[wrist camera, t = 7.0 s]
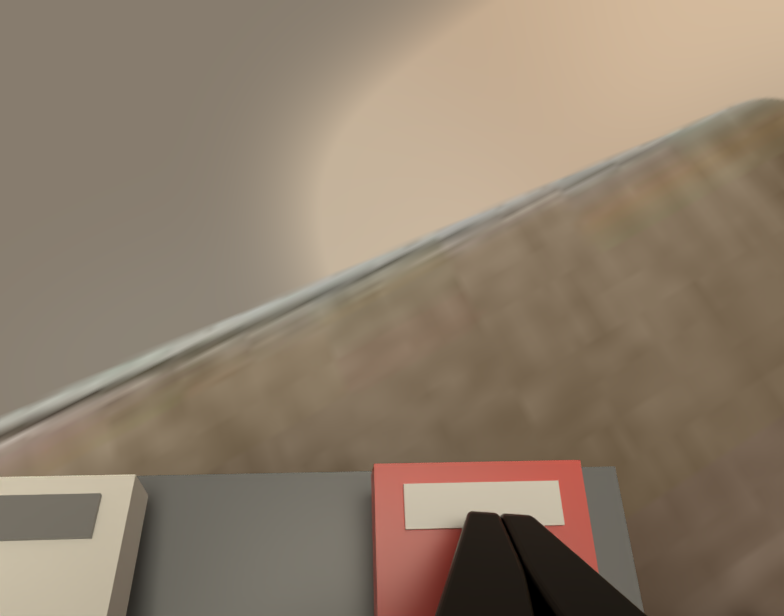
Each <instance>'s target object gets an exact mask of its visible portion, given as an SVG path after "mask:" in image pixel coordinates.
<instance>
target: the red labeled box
mask: <svg viewBox="0 0 784 616" xmlns="http://www.w3.org/2000/svg"><path fill="white" fill-rule="evenodd" d="M371 492H372V539H373V586H374V616H435V614H436V610H437V607H438V604H439V601H440V598H441V595H442V591H443V588H444V585H445V582H446V579H447V576H448V572H449V569H450V566H451V563H452V560H453V557H454V553H455V550H456V547H457V544H458V541H459V538H460V534H461V531H462V528H463V525H464V522H465V519H466V516H467V514H468V512H470V511H478V512H492V513H497V514H498V515H499V516H501V515H502V514H504V513H507V514H524V515H530V516H532V517H534V518H535V519H536V520H538V521H539V522H540V523H541V524H542V525H543V526H545V527H546V528H547V529H548V530H549V531H550V532H551V533H553V534H554V535H555V536H556V537H557V538H558V539H559V540H561V541H562V542H563V543H564V544H565V545H566V546H568V547H569V548H570V549H571V550H572V551H573V552H574V553H576V554H577V555H578V556H579V557H580V558H581V559H582V560H584V561H585V562H586V563H587V564H588V565H589V566H591V567H592V568H593V569H594V570H595V571H596V572H597V573H599V571H598V565H597V559H596V553H595V547H594V541H593V535H592V529H591V523H590V517H589V511H588V505H587V498H586V492H585V486H584V480H583V474H582V468H581V462H580V460H553V461H499V462H445V463H390V464H374V466H373V470H372V474H371Z"/></svg>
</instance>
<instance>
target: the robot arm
mask: <svg viewBox="0 0 784 616" xmlns="http://www.w3.org/2000/svg"><path fill="white" fill-rule="evenodd" d="M435 616H647V615H646V614H645V613H643V612H642V611H641V610H640V609H639V608H638V607H637V606H635V605H634V604H633V603H632V602H631V601H630V600H628V599H627V598H626V597H625V596H624V595H623V594H622V593H620V592H619V591H618V590H617V589H616V588H615V587H614V586H612V585H611V584H610V583H609V582H608V581H607V580H605V579H604V578H603V577H602V576H601V575H600V574H599V573H597V572H596V571H595V570H594V569H593V568H592V567H591V566H589V565H588V564H587V563H586V562H585V561H584V560H582V559H581V558H580V557H579V556H578V555H577V554H576V553H574V552H573V551H572V550H571V549H570V548H569V547H568V546H566V545H565V544H564V543H563V542H562V541H561V540H559V539H558V538H557V537H556V536H555V535H554V534H553V533H551V532H550V531H549V530H548V529H547V528H546V527H545V526H543V525H542V524H541V523H540V522H539V521H538V520H536V519H535V518H534V517H532V516H530V515H524V514H507V513H504V514H502V515H501V516H499V515H498V514H497V513H492V512H478V511H470V512H468V514H467V516H466V519H465V522H464V525H463V528H462V531H461V534H460V538H459V541H458V544H457V547H456V550H455V553H454V557H453V560H452V563H451V566H450V569H449V572H448V576H447V579H446V582H445V585H444V588H443V591H442V595H441V598H440V601H439V604H438V607H437V610H436V614H435Z"/></svg>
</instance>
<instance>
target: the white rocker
mask: <svg viewBox="0 0 784 616" xmlns="http://www.w3.org/2000/svg"><path fill="white" fill-rule="evenodd" d="M147 500H148V494H147V492H146V491H145V489H144V487H143V486H142V484H141V483H140V481H139V479H138V478H137V476H136V474H132V475H80V476H28V477H0V616H126V613H127V607H128V602H129V597H130V591H131V586H132V580H133V575H134V570H135V564H136V559H137V554H138V548H139V543H140V538H141V532H142V527H143V521H144V516H145V511H146V505H147Z"/></svg>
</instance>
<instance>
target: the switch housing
mask: <svg viewBox="0 0 784 616" xmlns="http://www.w3.org/2000/svg"><path fill="white" fill-rule="evenodd" d="M581 468H582V474H583V480H584V486H585V492H586V498H587V505H588V511H589V517H590V523H591V529H592V535H593V541H594V547H595V553H596V559H597V565H598V571H599V574H600V575H601V576H602V577H603V578H604V579H605V580H607V581H608V582H609V583H610V584H611V585H612V586H614V587H615V588H616V589H617V590H618V591H619V592H620V593H622V594H623V595H624V596H625V597H626V598H627V599H628V600H630V601H631V602H632V603H633V604H634V605H635V606H637V607H638V608H639V609H640V610H641V611H642V612H643V613H644V610H643V605H642V600H641V595H640V590H639V585H638V580H637V575H636V570H635V565H634V560H633V555H632V550H631V545H630V540H629V535H628V530H627V525H626V520H625V515H624V510H623V505H622V499H621V494H620V489H619V484H618V479H617V474H616V469H615V467H581ZM371 474H372V471H361V472H310V473H259V474H207V475H156V476H137V478H138V479H139V481H140V483H141V484H142V486H143V487H144V489H145V491H146V492H147V494H148V500H147V505H146V511H145V516H144V521H143V527H142V532H141V538H140V543H139V548H138V554H137V559H136V564H135V570H134V575H133V580H132V586H131V591H130V597H129V602H128V607H127V613H126V616H374V586H373V539H372V492H371Z"/></svg>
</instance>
